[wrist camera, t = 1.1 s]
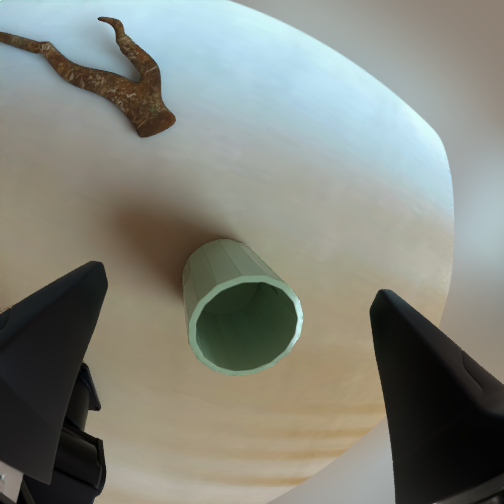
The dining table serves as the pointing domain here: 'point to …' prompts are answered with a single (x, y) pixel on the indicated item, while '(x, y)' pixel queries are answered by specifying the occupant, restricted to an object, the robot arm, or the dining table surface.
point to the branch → (113, 80)
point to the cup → (237, 309)
